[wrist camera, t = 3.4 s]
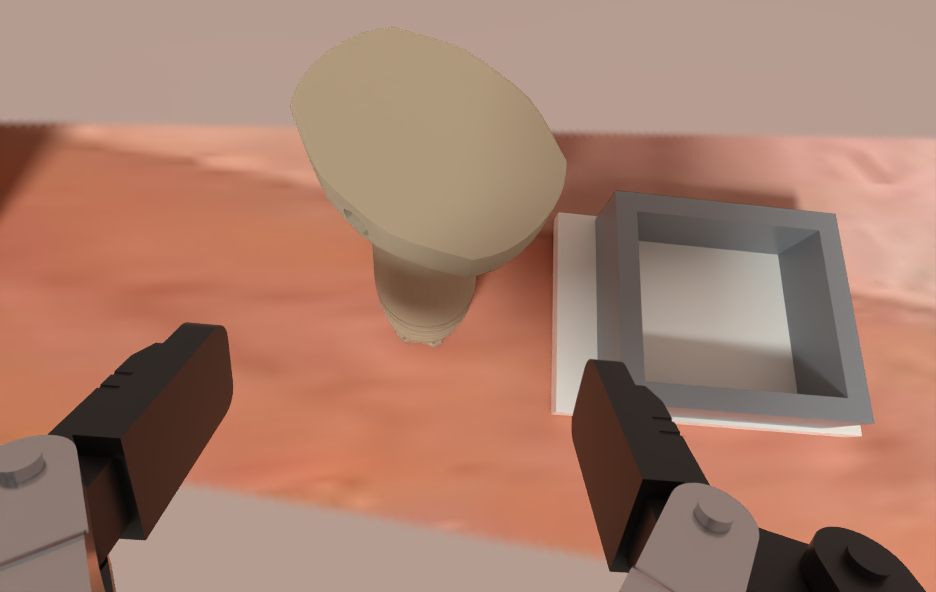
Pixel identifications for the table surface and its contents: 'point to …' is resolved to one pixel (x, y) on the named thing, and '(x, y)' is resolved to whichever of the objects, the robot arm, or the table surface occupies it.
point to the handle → (427, 168)
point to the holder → (711, 312)
